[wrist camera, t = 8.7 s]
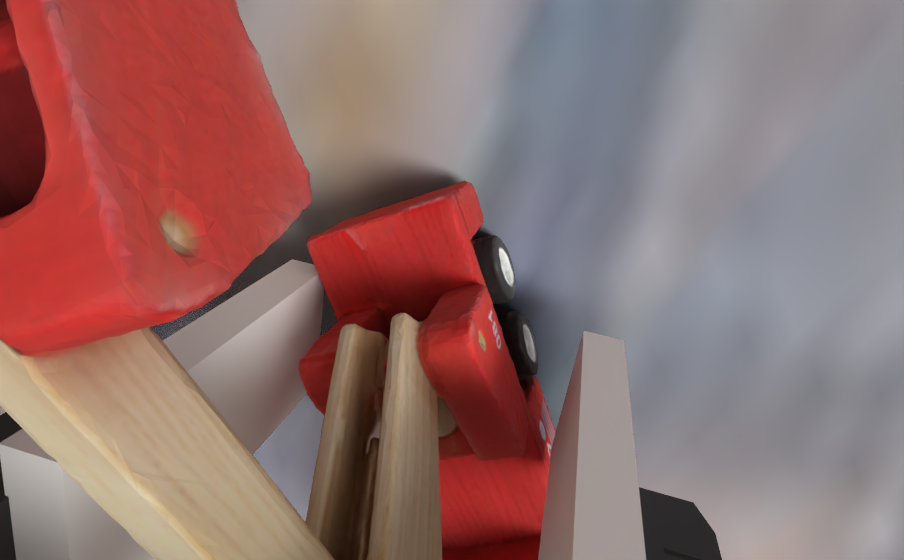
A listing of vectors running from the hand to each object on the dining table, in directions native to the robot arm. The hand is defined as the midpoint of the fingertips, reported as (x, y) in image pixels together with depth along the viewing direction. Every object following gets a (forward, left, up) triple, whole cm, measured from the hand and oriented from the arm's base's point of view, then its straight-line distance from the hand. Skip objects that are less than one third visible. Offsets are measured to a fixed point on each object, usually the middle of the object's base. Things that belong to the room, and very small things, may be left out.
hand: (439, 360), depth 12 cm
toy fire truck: (0, 0, -2) cm, 2 cm away
